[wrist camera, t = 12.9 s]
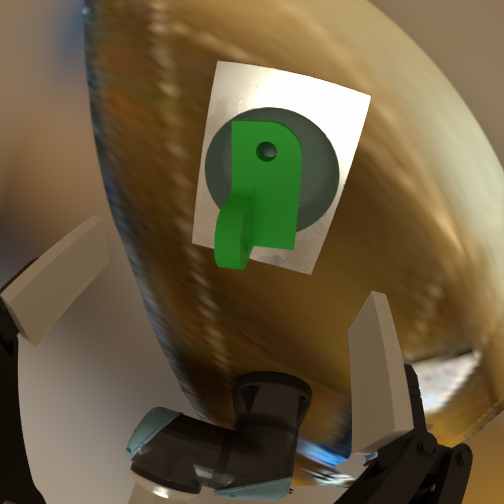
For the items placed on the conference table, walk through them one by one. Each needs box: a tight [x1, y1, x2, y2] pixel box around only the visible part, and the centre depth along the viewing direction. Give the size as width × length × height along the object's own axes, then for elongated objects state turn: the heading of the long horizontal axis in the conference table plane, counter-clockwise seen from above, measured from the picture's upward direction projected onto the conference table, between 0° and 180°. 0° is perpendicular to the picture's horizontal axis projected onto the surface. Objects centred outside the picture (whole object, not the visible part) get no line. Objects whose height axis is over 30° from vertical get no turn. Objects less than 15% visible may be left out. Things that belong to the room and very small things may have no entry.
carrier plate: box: [192, 61, 371, 275], centre depth 26 cm, size 20×14×1 cm
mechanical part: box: [214, 120, 302, 270], centre depth 22 cm, size 12×6×8 cm, turn 0°
